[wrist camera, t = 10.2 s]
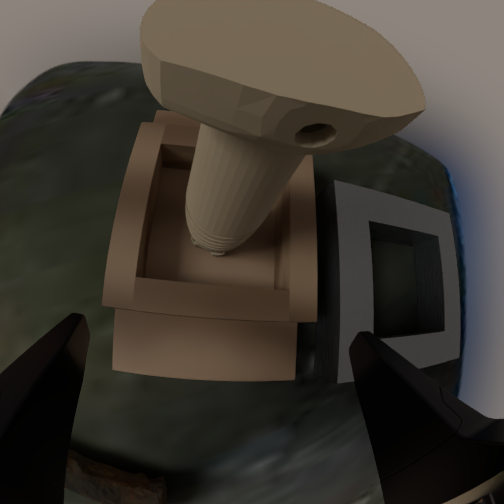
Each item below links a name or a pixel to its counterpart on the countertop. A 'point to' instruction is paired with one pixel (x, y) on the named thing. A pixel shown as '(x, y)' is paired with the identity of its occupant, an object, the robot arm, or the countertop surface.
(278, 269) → the tan piece
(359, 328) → the socket block
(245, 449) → the countertop surface
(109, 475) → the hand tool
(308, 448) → the countertop surface
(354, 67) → the handle
